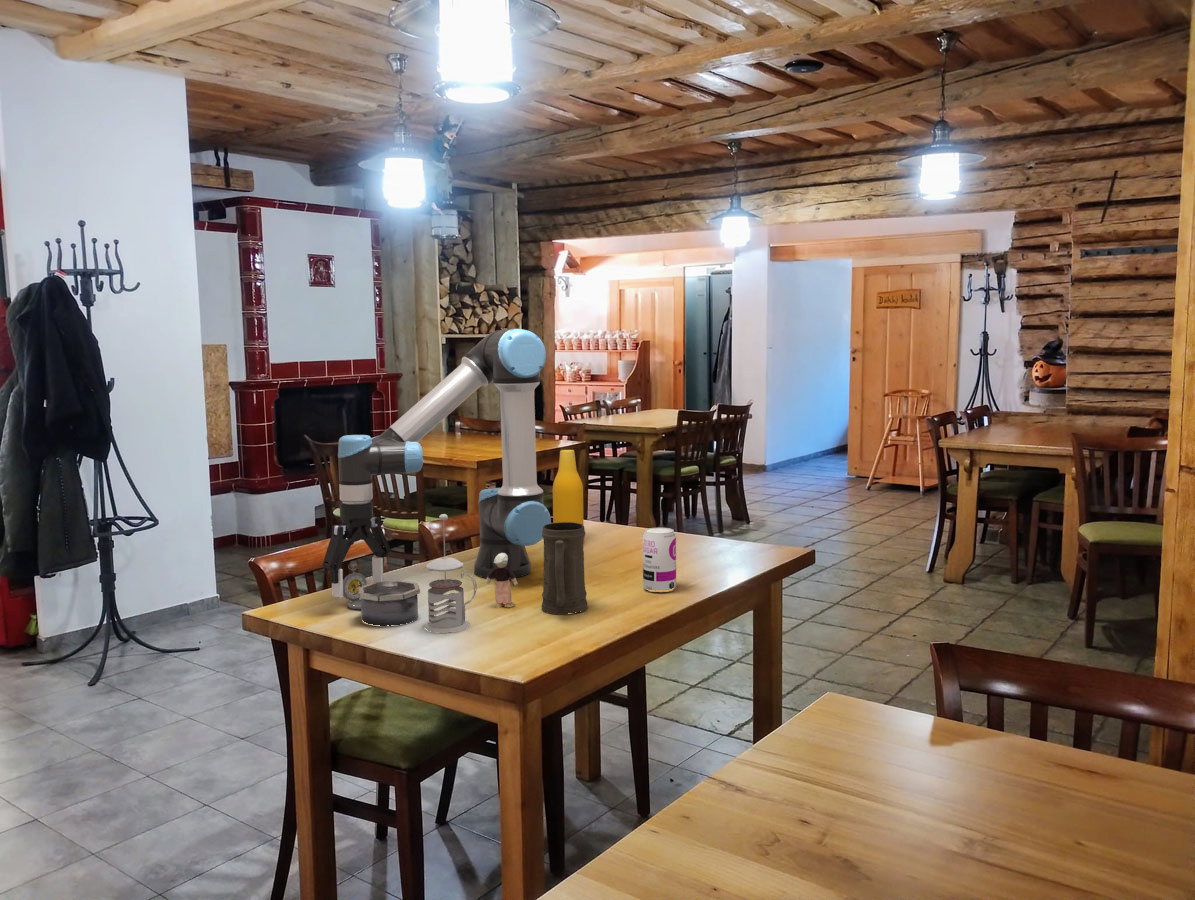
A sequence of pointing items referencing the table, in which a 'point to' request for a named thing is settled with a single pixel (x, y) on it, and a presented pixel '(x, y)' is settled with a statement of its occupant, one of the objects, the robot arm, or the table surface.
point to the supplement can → (659, 559)
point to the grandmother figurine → (502, 581)
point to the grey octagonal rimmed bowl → (389, 602)
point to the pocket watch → (351, 583)
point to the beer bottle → (567, 491)
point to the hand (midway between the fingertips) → (358, 590)
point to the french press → (453, 617)
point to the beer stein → (564, 568)
